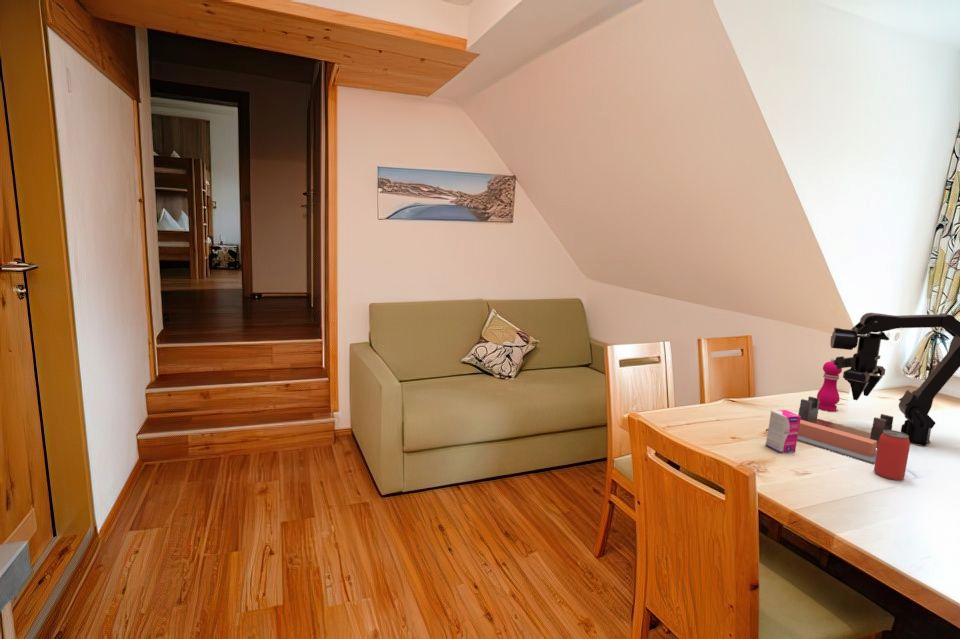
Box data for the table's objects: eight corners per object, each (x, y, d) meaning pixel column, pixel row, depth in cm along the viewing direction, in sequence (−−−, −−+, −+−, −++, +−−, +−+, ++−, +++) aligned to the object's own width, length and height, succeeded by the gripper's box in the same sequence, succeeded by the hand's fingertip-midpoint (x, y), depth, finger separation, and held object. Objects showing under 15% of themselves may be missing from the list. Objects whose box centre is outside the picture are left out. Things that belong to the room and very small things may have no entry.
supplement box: (780, 453, 155) (785, 416, 153) (764, 446, 161) (769, 410, 159) (796, 452, 157) (801, 415, 155) (780, 444, 162) (785, 409, 160)
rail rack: (898, 445, 166) (902, 417, 164) (887, 451, 160) (892, 423, 158) (802, 418, 188) (805, 394, 186) (789, 423, 182) (792, 398, 180)
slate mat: (887, 455, 157) (888, 453, 157) (873, 464, 150) (873, 462, 150) (782, 424, 181) (782, 422, 181) (765, 431, 174) (765, 429, 174)
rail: (875, 453, 156) (877, 441, 156) (870, 456, 154) (872, 443, 153) (783, 426, 177) (784, 415, 176) (777, 428, 174) (779, 417, 174)
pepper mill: (841, 412, 196) (849, 360, 193) (819, 411, 197) (827, 359, 194) (832, 407, 203) (840, 356, 200) (812, 405, 204) (819, 354, 201)
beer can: (874, 467, 148) (881, 427, 146) (904, 475, 144) (911, 433, 142) (872, 475, 143) (879, 433, 141) (903, 483, 138) (911, 440, 137)
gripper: (850, 344, 183) (843, 387, 186) (828, 349, 172) (821, 395, 175) (889, 350, 174) (881, 396, 177) (868, 356, 163) (860, 404, 166)
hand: (860, 397), depth 174 cm, fingers open, 9 cm apart
